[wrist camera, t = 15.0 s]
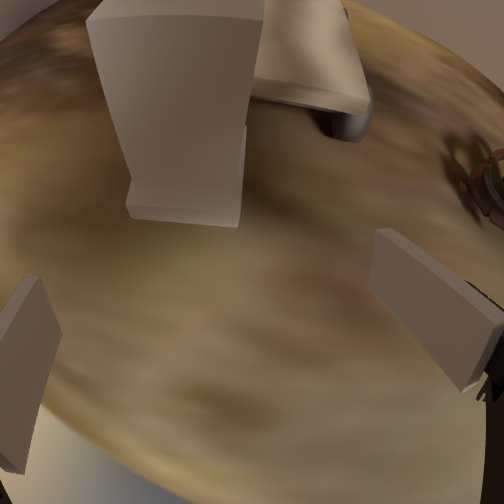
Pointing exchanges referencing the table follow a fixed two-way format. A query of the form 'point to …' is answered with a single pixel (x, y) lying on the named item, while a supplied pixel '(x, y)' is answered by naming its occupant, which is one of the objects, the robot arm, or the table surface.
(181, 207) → the grey pillar on base
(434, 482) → the table surface
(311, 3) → the trolley
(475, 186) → the broken clay pot
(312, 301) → the table surface
